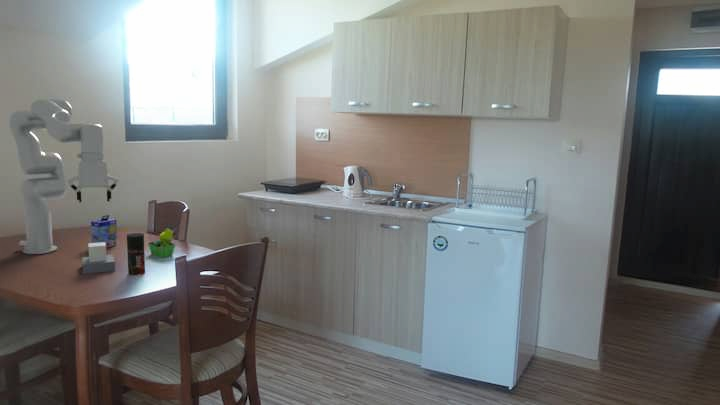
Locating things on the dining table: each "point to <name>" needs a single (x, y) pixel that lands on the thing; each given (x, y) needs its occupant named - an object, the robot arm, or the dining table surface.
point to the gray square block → (98, 265)
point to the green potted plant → (163, 245)
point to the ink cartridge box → (104, 231)
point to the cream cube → (97, 252)
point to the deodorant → (136, 254)
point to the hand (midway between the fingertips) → (94, 201)
